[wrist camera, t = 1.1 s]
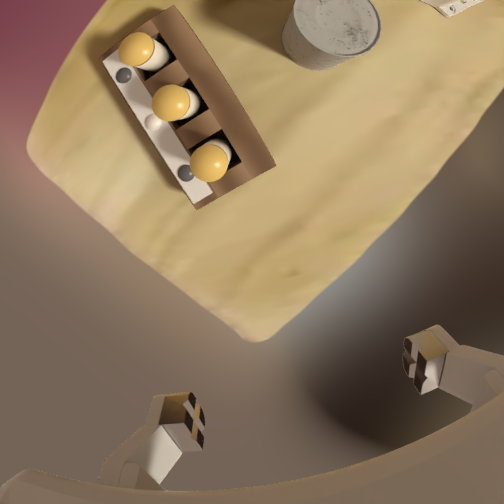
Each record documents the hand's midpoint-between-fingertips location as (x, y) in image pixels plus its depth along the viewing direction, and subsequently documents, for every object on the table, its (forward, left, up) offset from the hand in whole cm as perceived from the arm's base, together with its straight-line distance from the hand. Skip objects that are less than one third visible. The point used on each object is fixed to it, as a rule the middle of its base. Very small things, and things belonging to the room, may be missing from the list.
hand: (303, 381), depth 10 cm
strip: (+8, -14, -31) cm, 35 cm away
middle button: (+4, -14, -33) cm, 36 cm away
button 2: (+4, -6, -33) cm, 33 cm away
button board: (+4, -14, -36) cm, 38 cm away
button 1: (+4, -22, -33) cm, 39 cm away
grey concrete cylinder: (-16, -14, -36) cm, 42 cm away
